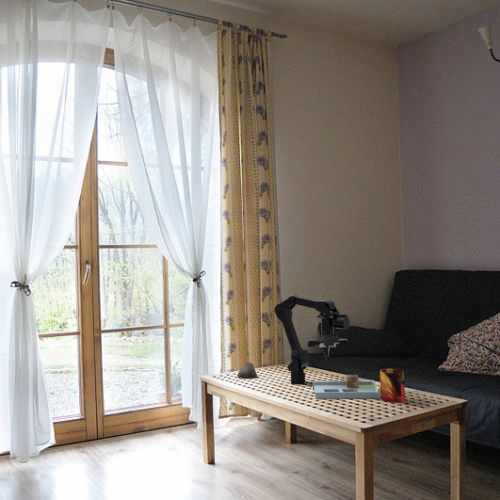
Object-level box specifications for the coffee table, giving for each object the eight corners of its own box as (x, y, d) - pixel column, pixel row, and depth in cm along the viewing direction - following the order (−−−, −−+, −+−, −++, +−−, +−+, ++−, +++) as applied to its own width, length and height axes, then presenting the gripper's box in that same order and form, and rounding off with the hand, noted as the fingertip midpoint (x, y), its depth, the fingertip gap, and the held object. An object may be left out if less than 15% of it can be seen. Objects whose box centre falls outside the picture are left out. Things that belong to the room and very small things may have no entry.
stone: (248, 386, 298) (262, 371, 300) (236, 375, 298) (250, 360, 300) (245, 385, 307) (258, 371, 310) (233, 374, 307) (246, 359, 310)
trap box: (315, 398, 255) (315, 389, 255) (312, 389, 273) (312, 380, 273) (380, 398, 253) (380, 388, 253) (373, 388, 272) (373, 379, 272)
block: (347, 388, 264) (346, 376, 264) (346, 385, 269) (346, 374, 269) (358, 388, 264) (358, 377, 264) (357, 385, 269) (357, 374, 269)
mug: (404, 405, 241) (403, 375, 241) (375, 399, 251) (375, 371, 251) (417, 401, 247) (416, 372, 247) (389, 395, 258) (388, 368, 258)
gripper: (308, 330, 269) (308, 364, 269) (349, 329, 268) (350, 364, 268) (306, 327, 280) (307, 360, 280) (346, 326, 279) (347, 360, 279)
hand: (327, 361), depth 276 cm, fingers closed
